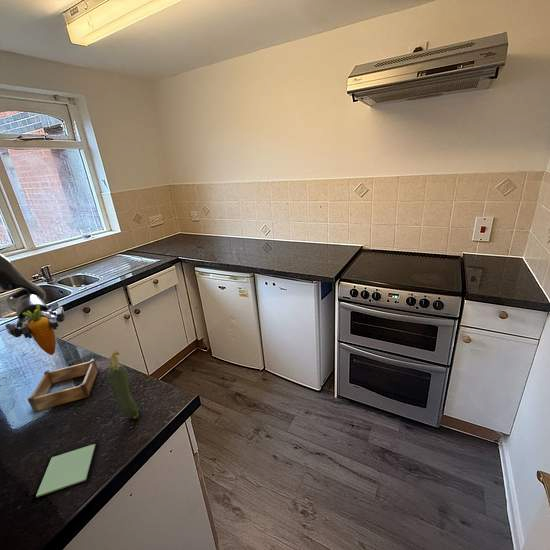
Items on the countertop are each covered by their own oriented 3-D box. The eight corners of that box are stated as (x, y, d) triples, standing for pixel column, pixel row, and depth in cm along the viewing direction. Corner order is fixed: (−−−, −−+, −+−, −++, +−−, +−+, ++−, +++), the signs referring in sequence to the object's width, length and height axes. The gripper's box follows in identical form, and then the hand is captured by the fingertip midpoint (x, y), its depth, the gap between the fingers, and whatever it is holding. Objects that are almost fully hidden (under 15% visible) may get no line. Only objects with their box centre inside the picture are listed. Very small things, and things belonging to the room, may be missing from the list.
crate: (33, 412, 82) (27, 399, 81) (50, 382, 94) (45, 371, 92) (89, 396, 86) (84, 384, 84) (98, 369, 97) (94, 358, 96)
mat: (36, 497, 60) (35, 496, 60) (52, 458, 68) (51, 457, 68) (86, 480, 62) (85, 479, 62) (95, 444, 70) (95, 443, 70)
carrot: (40, 362, 81) (18, 314, 76) (42, 353, 85) (21, 307, 80) (62, 355, 84) (42, 308, 78) (63, 347, 88) (44, 301, 82)
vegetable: (122, 426, 75) (97, 361, 67) (123, 414, 78) (99, 351, 71) (141, 419, 76) (119, 354, 69) (141, 408, 80) (120, 345, 73)
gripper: (-3, 310, 85) (1, 330, 73) (56, 292, 94) (68, 307, 82) (8, 332, 88) (14, 355, 76) (64, 313, 97) (77, 331, 85)
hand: (42, 330), depth 79 cm, fingers closed on carrot, 5 cm apart
